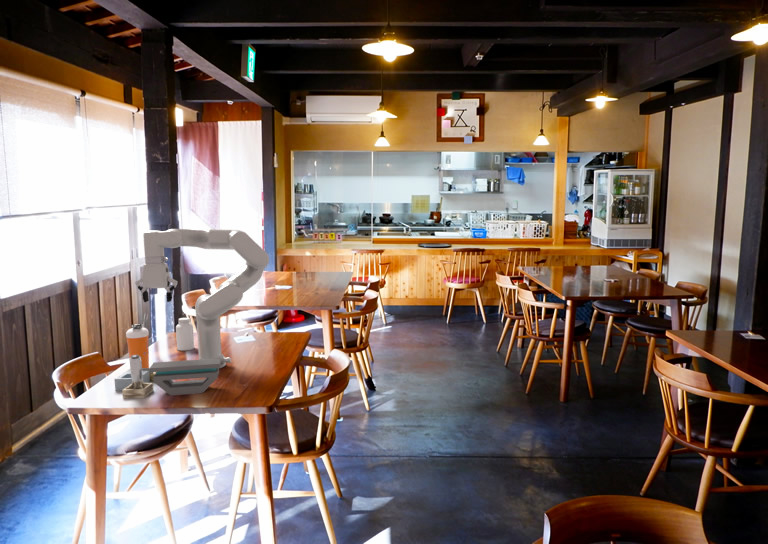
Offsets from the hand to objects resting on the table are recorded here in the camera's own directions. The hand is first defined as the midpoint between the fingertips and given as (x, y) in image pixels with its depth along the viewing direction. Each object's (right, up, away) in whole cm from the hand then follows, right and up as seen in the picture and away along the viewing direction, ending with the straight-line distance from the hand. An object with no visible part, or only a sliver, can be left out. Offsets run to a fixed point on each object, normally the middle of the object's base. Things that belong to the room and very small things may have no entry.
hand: (157, 301), depth 244 cm
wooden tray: (+2, -34, -23) cm, 41 cm away
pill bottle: (-2, -25, +42) cm, 49 cm away
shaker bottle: (-9, -30, +5) cm, 32 cm away
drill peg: (+2, -33, -24) cm, 40 cm away
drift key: (-1, -32, -7) cm, 32 cm away
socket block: (-4, -32, -12) cm, 35 cm away
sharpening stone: (+19, -33, -20) cm, 44 cm away
